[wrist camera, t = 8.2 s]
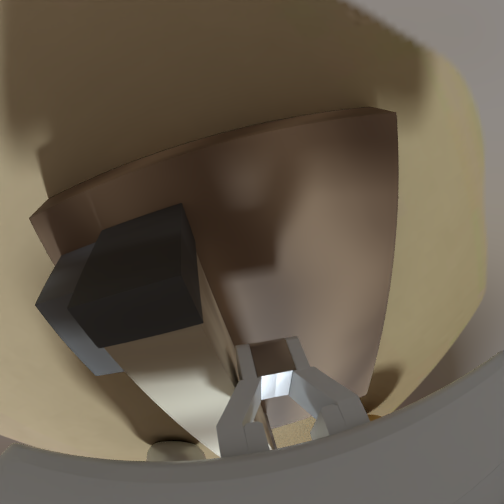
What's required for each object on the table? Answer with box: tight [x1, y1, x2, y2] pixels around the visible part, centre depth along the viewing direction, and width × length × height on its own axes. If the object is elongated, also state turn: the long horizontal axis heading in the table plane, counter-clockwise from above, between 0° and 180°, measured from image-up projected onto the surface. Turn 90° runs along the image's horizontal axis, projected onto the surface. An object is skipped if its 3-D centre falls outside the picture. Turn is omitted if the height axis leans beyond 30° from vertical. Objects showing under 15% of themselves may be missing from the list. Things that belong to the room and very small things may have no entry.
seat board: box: [29, 107, 398, 429], centre depth 15 cm, size 15×23×5 cm, turn 12°
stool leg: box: [67, 203, 277, 457], centre depth 13 cm, size 19×3×4 cm, turn 12°
